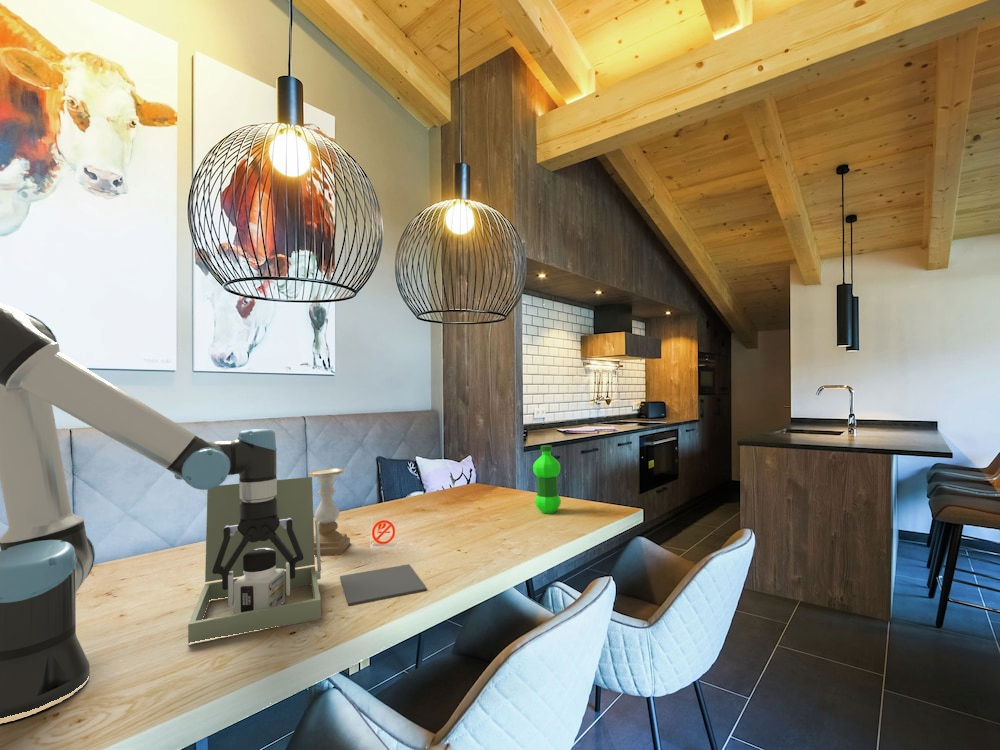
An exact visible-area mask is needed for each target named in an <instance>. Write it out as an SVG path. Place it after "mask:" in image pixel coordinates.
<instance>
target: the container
mask: <svg viewBox="0 0 1000 750" xmlns="http://www.w3.org/2000/svg"><path fill="white" fill-rule="evenodd" d="M284 571H285V570H284V569H276V552H275V550H273V549H270V548H259V549H254V550H251V551H249V552H247V553H246V554H245V555H244V556H243V574H244V575H243V576H241V577H238V578H236V579H237V580H236V581H235V582H234V601H233V614H236V613H241V612H247V611H252V610H258V609H263V608H268V607H274V606H279V605H281V604H282V603H283V604H285V602H286V595H285V594H286V589H285V577H284ZM283 604H282V605H283Z"/></svg>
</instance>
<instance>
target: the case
mask: <svg viewBox="0 0 1000 750" xmlns="http://www.w3.org/2000/svg"><path fill="white" fill-rule="evenodd" d="M314 524H315V525H314V527H315V529H314V530H315V535H316V548H317V556H316V561H317V562H316V563H317V564H316V565H317V567H315V565H314V566H306V567H300V568H295V578H292V579H290V589H292V587H293V588H298V587H297V586H299V587H303V586H304V585H305V586H311V595H312V594H313V595H312V599H307V600H302V601H297V602H291V603H283V604H282V605H279V606H274V607H268V608H263V609H258V610H252V611H247V612H241V613H236V614H234V613H232V614H231V613H230V614H226V615H221V616H215V617H210V618H209V617H208V618H204V619H203V616H204V614H205V615H206V613H205V611H206V608H207V605H208V603H209V604H210V602H209V600H211V599H218V598H225V597H228V589H227V590H223V588H222V580H219V581H216V582H215V581H213V582H210V583H208V582H207V583H204V586H203V587H202V590H201V593H200V595H199V597H198V600H197V602H196V605H195V607H194V609H193V611H192V615H191V616H190V619H189V621H188V623H187V630H188V631H187V632H188V633H187V640H188V641H187V642H188V643H190V642H195V641H200V640H205V639H210V638H215V637H221V636H228V635H233V634H239V633H244V632H249V631H254V630H260V629H265V628H271V627H275V626H276V627H277V626H283V627H285V626H284V625H288V626H290V625H289V624H293V625H297V624H301V622H302V623H306V622H312V621H316V620H317V621H318V620H322V604H321V603H322V599H321V594H320V587H319V582H318V580H321V579H322V578H321V576H322V575H321V571H322V564H321V563H322V561H321V560H322V559H321V556H320V541H319V522H318V520H317V519H316V520H315V519H314ZM316 569H317V570H316ZM284 577H285V588H286V570H284ZM237 579H238V578H233V596H234V582H235V581H236V580H237ZM310 584H311V585H310ZM208 606H209V605H208ZM207 609H208V608H207ZM206 612H207V611H206ZM204 617H205V616H204ZM202 619H203V620H202ZM296 623H297V624H296ZM188 643H187V644H188Z"/></svg>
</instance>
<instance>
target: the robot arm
mask: <svg viewBox="0 0 1000 750" xmlns="http://www.w3.org/2000/svg"><path fill="white" fill-rule="evenodd" d="M53 406H54V407H56V408H58V409H59V410H61V411H63V412H64V413H67V414H69V416H72V417H74V418H75V419H77V420H79V421H80V422H83V423H84V424H86V425H88V426H90V427H91V428H94V429H95V430H96V431H99V432H101V433H102V434H104V435H106V436H107V437H109V438H110V439H113V440H114V441H116V442H118V443H120V444H121V445H124V446H125V447H127V448H129V449H131V450H132V451H134V452H136V453H138V454H139V455H141V456H142V457H145V458H146V459H148V460H151V461H152V462H154V463H156V464H157V465H159V466H161V467H163V469H164V468H165V469H166V470H167V471H169V472H171V473H173V475H174V478H175V479H176V480H178V481H181V480H182V481H185V483H186V484H187V485H189V486H190V487H192V488H194V489H196V490H201V491H204V490H205V491H207V490H208V489H212V488H215V487H217V486H219V485H221V484H222V483H224V481H226V479H227V477H228V476H233V475H239V481H238V484H239V493H240V499H241V500H243V501H241V503H240V522H239V524H238V525H233V526H230V525H226V526H225V528H224V539H223V542H222V545H221V548H220V551H219V553H218V556H217V559H216V562H215V565H214V568H213V570H212V573H213V574H221V575H222V580H221V581H222V588H223V590H227V589H228V599H227V600H228V604H227V605H228V607H231V606H234V596H233V579H234V578H233V571H230V570H231V568H232V566H233V565H234V563H235V562H236V560H237V558H238V557H239V555H240V554H241V552H242V551H243V549H244V547H245V546H246V545H247V543H248V542H251V543H253V542H257V541H267V540H268V539H270V540H271V542H272V543H273V544H274V545H275V546H276V547H277V549H278V550H279V551H280V552H281V554H282V555H283V556H284V557H285V559H286V560H287V561H288V562H287V563H286V569H285V571H286V589H285V594H286V595H285V597H286V596H291V588H290V579H292V578H295V569H296V568H295V564H296V563H297V562H298V561H301V560H303V558H304V557H303V552H302V550H301V547H300V545H299V542H298V540H297V538H296V535H295V533H294V530H293V528H292V518H291V517H289V518H287V519H281V520H279V518H278V516H277V499H276V497H274V496H276V495H277V480H278V478H277V451H278V450H277V442H276V440H277V439H276V432H275V431H274V430H273V429H270V428H255V429H254V428H253V429H243V430H240V431H239V432H238V436H237V439H231V440H220V441H218V440H217V441H206V440H204V439H203V438H201V437H199V436H198V435H196V434H195V433H192V432H191V431H190V430H188V429H186V428H185V427H183V426H181V425H179V424H178V423H177V422H174V421H173V420H171V419H170V418H168V417H167V416H165V415H163V414H161V413H160V412H158V411H157V410H155V409H153V408H151V407H150V406H149V405H148V404H145V403H143V402H142V401H140V400H138V399H137V398H135V397H134V396H132V395H131V394H128V393H127V392H125V391H124V390H122V389H121V388H119V387H117V386H115V384H113V383H111V382H109V381H107V380H106V379H105V378H103V377H101V376H99V374H96V373H95V372H92V371H91V370H89V369H88V368H86V367H85V366H83V365H82V364H80V363H78V362H77V361H75V360H73V359H72V358H70V357H68V356H67V355H65V354H64V353H62V352H61V350H60V345H59V343H58V340H57V337H56V334H55V333H53V331H52V330H51V328H50V327H49V326H48V325H47V324H46V323H44V321H42V320H41V319H39V318H37V317H35V316H33V315H32V314H28V313H25V312H22V311H20V310H19V309H17V308H15V307H12V306H9V305H6V304H2V303H0V486H1V487H0V488H1V492H2V497H3V498H2V499H3V502H4V508H5V514H6V519H7V524H8V528H7V530H6V531H5V532H4V533H3V535H2V536H1V537H0V718H4V717H7V716H10V715H11V716H12V715H15V714H19V713H22V712H27V711H30V710H32V709H35V708H39V707H40V706H43V705H45V704H47V703H49V702H51V701H54V700H57V699H59V698H60V697H63V696H65V695H67V694H69V693H71V692H72V691H74V690H75V689H76V688H78V687H79V686H80V685H82V684H83V683H84V682H85V681H86V680H87V678H88V676H89V677H90V663H89V662H90V661H89V660H88V658H87V656H86V654H85V651H84V649H83V647H82V646H81V643H80V641H79V639H78V637H77V633H76V632H77V631H76V629H77V628H76V627H77V626H76V625H77V624H76V622H77V621H76V618H77V617H76V616H77V613H76V608H77V605H76V604H77V603H76V597H77V592H78V591H79V589H80V588H81V587H82V585H83V584H84V582H85V581H86V579H87V578H88V576H89V575H90V574H91V571H92V569H93V567H94V562H95V560H96V559H95V558H96V552H95V548H94V546H95V545H94V544H93V543H92V541H91V539H90V537H89V536H88V535H87V530H86V525H85V521H84V518H83V517H82V516H79V515H77V514H75V513H74V512H72V508H71V503H70V496H69V492H68V491H69V490H68V486H67V480H66V474H65V469H64V464H63V458H62V452H61V447H60V441H59V435H58V431H57V423H56V419H55V413H54V408H53ZM279 525H282V526H283V528H284V529H287V533H288V536H289V538H290V541H291V543H292V546H293V548H294V551H295V553H296V555H295V556H293V555H292V554H291V552H290V551H289V550H288V548H287V547H286V546H285V545H284V543H283V542H282V541H281V540H280V538H279V537H278V535H277V534H276V533H275V531H276V529H277V528H278V526H279ZM237 530H238V531H239V532H240V533H241V534H242V535H243V536H244V537H243V538H242V540H241V542H240V543H239V545H238V546H237V548H236V549H235V551H234V553H233V554H232V556H231V557H230V559H229V560H228V562H227V564H226V565H225V567H223V566H221V563H222V560H223V558H224V555H225V552H226V549H227V546H228V543H229V541H230V537H231V536H233V535H234V533H235V531H237ZM229 571H230V572H229Z"/></svg>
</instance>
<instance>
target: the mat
mask: <svg viewBox="0 0 1000 750" xmlns="http://www.w3.org/2000/svg"><path fill="white" fill-rule="evenodd" d="M339 579H340V583H341V586H342V589H343V593H344V595H345V599H346V602H347V605H348V606H352V605H359V604H363V603H368V602H373V601H374V602H375V601H378V600H382V599H388V598H394V597H398V596H404V595H409V594H414V593H415V594H416V593H420V592H424V591H428V590H427V589H428V588H427V586H426V585H425V584H424V582H423V581H422V580H421V578H420V577H419V575H417V573H416V571H415V570H414V568H413V567H412V566H411V564H409V563H408V564H402V565H397V566H391V567H385V568H379V569H372V570H368V571H362V572H361V571H360V572H356V573H349V574H344V575H339Z"/></svg>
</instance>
